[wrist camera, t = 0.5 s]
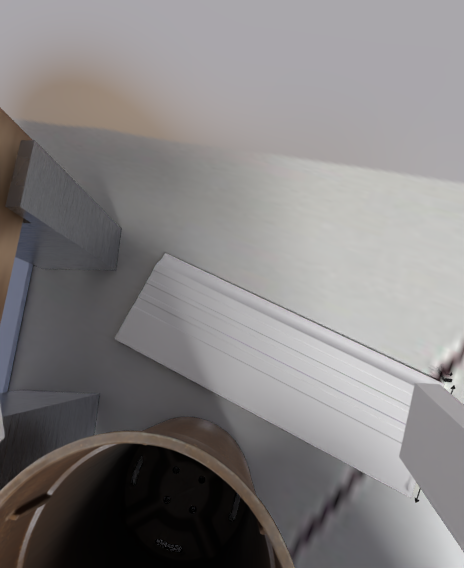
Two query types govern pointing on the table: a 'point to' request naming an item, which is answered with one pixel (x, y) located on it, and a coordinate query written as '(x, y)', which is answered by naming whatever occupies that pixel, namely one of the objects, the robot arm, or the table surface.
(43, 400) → the stand
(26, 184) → the stand
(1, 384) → the felt pad
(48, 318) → the table surface
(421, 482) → the robot arm
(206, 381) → the baseboard molding
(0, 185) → the oak rail
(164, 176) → the table surface
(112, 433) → the plant pot
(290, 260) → the table surface
